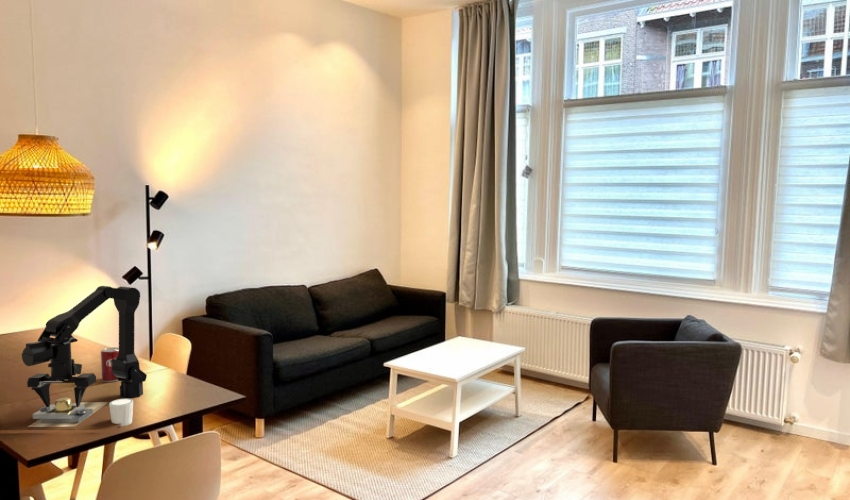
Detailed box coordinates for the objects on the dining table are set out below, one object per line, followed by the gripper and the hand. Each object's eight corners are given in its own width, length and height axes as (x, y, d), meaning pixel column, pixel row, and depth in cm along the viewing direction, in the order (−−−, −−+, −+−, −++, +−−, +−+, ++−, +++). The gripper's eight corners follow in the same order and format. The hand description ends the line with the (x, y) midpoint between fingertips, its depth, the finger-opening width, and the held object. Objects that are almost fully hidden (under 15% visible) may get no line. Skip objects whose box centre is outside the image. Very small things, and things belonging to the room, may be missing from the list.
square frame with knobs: (93, 413, 199) (92, 402, 199) (78, 423, 190) (78, 412, 190) (49, 413, 198) (48, 402, 198) (32, 423, 190) (32, 412, 189)
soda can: (97, 380, 236) (96, 350, 235) (114, 375, 243) (113, 346, 242) (109, 383, 233) (108, 352, 232) (126, 378, 239) (125, 348, 238)
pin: (74, 415, 197) (73, 397, 196) (67, 420, 192) (66, 402, 192) (60, 415, 196) (59, 397, 196) (53, 420, 192) (52, 402, 192)
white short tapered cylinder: (137, 419, 197) (137, 398, 196) (128, 427, 190) (127, 405, 189) (116, 419, 196) (115, 398, 196) (105, 427, 190) (104, 405, 189)
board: (108, 405, 210) (108, 402, 210) (74, 429, 188) (74, 426, 188) (66, 405, 209) (66, 402, 209) (27, 429, 187) (27, 426, 187)
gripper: (103, 351, 201) (105, 398, 202) (45, 351, 200) (47, 398, 202) (86, 360, 190) (88, 409, 191) (24, 361, 189) (27, 410, 191)
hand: (63, 406), depth 194 cm, fingers open, 9 cm apart
